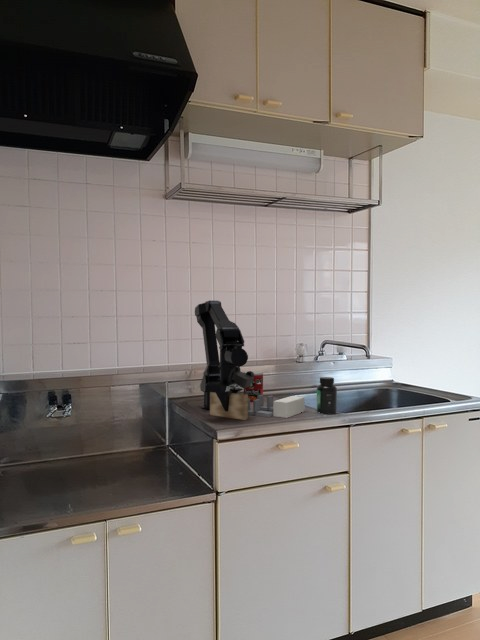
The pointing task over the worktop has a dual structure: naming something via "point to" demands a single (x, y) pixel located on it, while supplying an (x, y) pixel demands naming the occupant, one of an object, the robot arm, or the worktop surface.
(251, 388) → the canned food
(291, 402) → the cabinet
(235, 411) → the door panel
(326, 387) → the supplement bottle
